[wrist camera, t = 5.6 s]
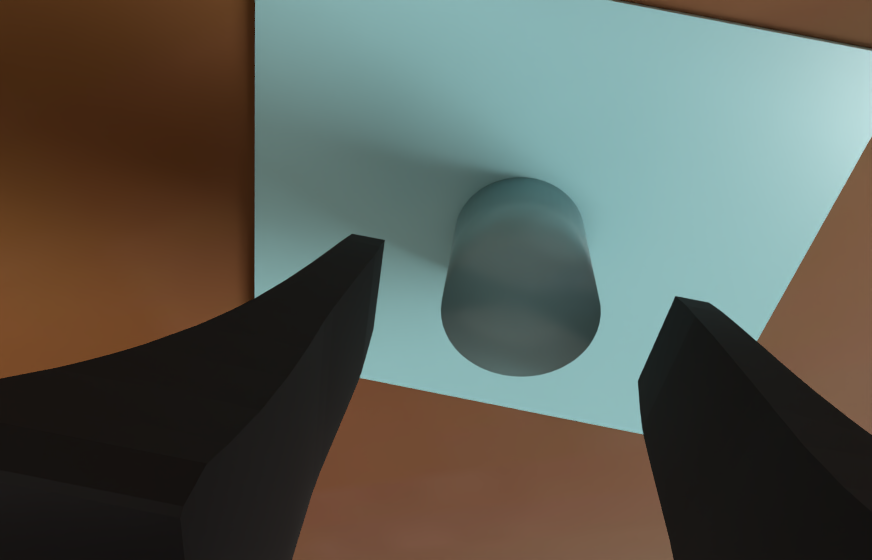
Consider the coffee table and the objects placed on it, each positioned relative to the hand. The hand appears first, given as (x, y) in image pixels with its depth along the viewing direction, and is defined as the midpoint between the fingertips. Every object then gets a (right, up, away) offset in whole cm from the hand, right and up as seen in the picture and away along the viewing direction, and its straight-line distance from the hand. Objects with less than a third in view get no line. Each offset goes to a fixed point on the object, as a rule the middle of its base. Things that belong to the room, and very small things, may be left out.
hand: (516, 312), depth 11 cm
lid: (0, +2, +3) cm, 4 cm away
